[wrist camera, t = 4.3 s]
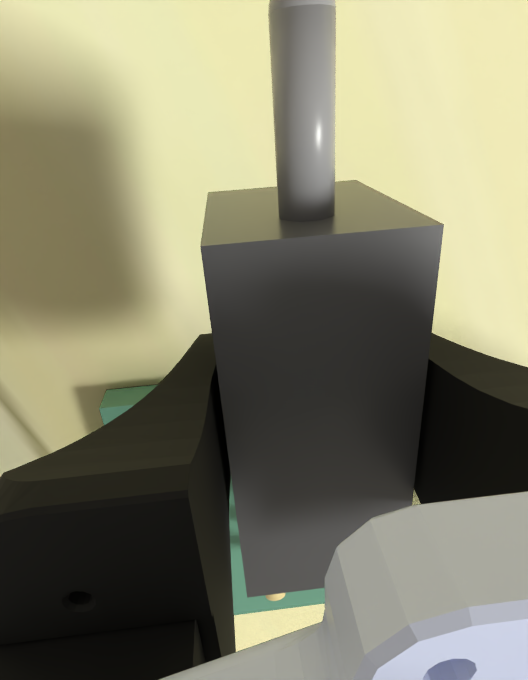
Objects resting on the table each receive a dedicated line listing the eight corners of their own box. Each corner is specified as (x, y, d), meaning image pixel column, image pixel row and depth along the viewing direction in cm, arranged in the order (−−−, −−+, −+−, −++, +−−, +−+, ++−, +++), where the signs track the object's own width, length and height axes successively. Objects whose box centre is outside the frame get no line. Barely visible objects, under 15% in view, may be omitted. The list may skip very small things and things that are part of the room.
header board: (395, 359, 22) (435, 414, 18) (379, 573, 29) (405, 646, 25) (106, 389, 21) (80, 454, 17) (163, 600, 29) (154, 679, 25)
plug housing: (360, 9, 10) (478, -77, 5) (349, 440, 15) (403, 577, 11) (187, 20, 10) (159, -58, 5) (239, 452, 15) (247, 597, 10)
